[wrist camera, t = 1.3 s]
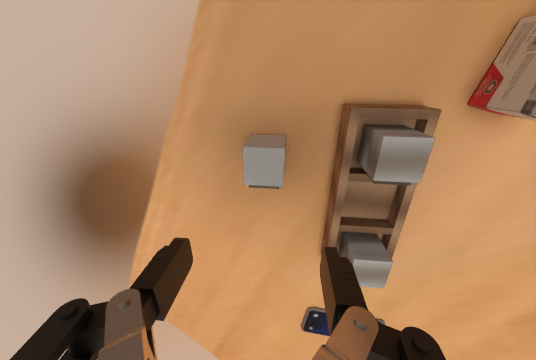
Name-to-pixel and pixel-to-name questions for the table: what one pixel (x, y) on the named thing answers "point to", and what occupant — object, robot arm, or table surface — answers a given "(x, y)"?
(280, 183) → the grey cube
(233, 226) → the table surface
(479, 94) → the ink box
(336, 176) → the wooden compartment tray
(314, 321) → the smartphone
